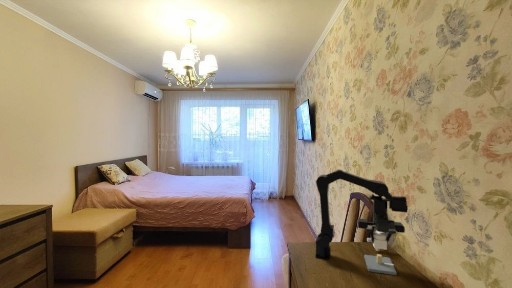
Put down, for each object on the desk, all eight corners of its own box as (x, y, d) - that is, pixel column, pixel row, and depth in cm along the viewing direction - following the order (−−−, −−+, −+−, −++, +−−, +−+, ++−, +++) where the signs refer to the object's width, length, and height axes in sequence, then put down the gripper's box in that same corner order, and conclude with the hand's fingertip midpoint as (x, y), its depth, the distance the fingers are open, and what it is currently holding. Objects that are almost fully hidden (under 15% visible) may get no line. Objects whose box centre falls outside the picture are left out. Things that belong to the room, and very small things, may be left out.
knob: (374, 248, 110) (374, 234, 110) (372, 243, 115) (372, 230, 115) (386, 249, 109) (387, 235, 108) (384, 244, 113) (384, 231, 113)
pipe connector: (391, 255, 121) (391, 235, 120) (369, 254, 123) (370, 234, 123) (385, 246, 131) (385, 228, 130) (365, 245, 133) (365, 226, 132)
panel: (368, 271, 107) (368, 260, 107) (364, 257, 120) (364, 247, 120) (397, 275, 104) (397, 264, 104) (390, 260, 117) (390, 250, 116)
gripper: (359, 213, 106) (359, 249, 107) (409, 217, 101) (408, 255, 101) (357, 206, 117) (356, 238, 117) (401, 209, 111) (400, 243, 112)
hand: (379, 243), depth 112 cm, fingers closed on knob, 5 cm apart
